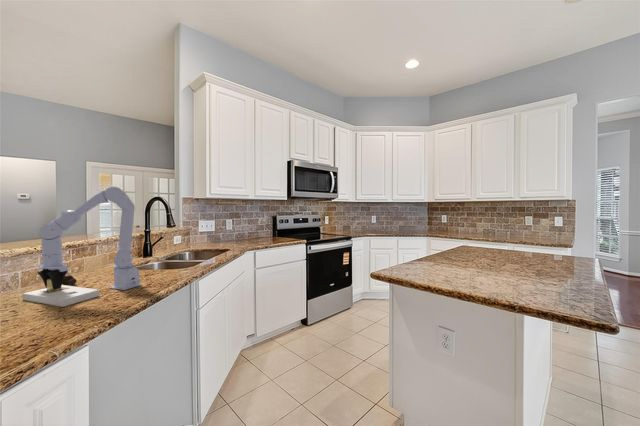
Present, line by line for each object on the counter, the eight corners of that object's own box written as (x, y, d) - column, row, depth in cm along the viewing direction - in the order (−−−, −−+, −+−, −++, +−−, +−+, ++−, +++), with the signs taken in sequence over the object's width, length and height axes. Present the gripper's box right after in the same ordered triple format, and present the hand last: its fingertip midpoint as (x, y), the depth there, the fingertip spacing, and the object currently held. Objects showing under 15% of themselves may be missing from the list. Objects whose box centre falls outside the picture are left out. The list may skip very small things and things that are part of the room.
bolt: (70, 290, 122) (53, 285, 128) (82, 282, 125) (65, 278, 132) (62, 281, 119) (45, 276, 125) (74, 273, 123) (57, 269, 129)
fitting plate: (99, 295, 108) (99, 289, 107) (62, 306, 96) (62, 299, 96) (61, 290, 115) (60, 284, 115) (22, 299, 104) (22, 292, 104)
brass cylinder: (63, 292, 109) (63, 277, 109) (51, 295, 105) (50, 280, 105) (57, 291, 110) (56, 277, 110) (44, 294, 106) (44, 279, 106)
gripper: (27, 255, 105) (28, 289, 106) (51, 256, 101) (52, 292, 101) (50, 252, 112) (51, 284, 112) (73, 253, 107) (74, 287, 108)
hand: (53, 288), depth 107 cm, fingers closed on brass cylinder, 4 cm apart
